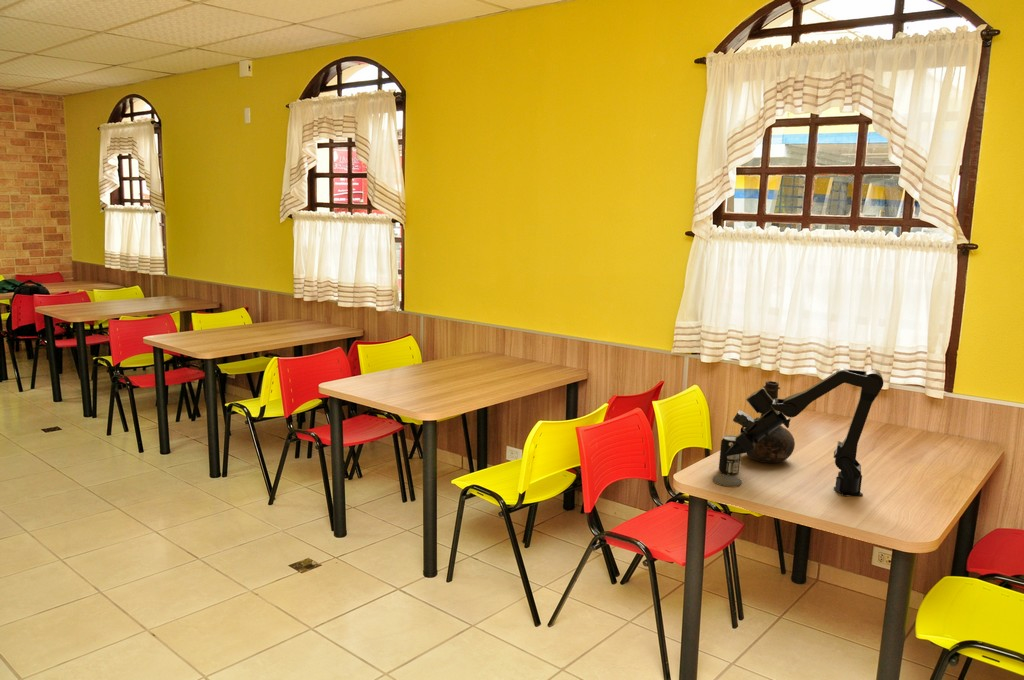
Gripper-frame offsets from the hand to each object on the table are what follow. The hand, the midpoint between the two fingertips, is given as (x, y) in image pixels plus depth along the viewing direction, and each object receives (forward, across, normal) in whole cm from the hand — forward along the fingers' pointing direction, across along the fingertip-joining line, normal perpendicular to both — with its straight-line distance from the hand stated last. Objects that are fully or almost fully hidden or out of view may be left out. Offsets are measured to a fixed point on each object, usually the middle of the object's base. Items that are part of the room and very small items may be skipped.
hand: (728, 450), depth 256 cm
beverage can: (+5, 0, +6) cm, 8 cm away
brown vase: (-2, -21, +13) cm, 25 cm away
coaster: (+4, +10, +6) cm, 12 cm away
